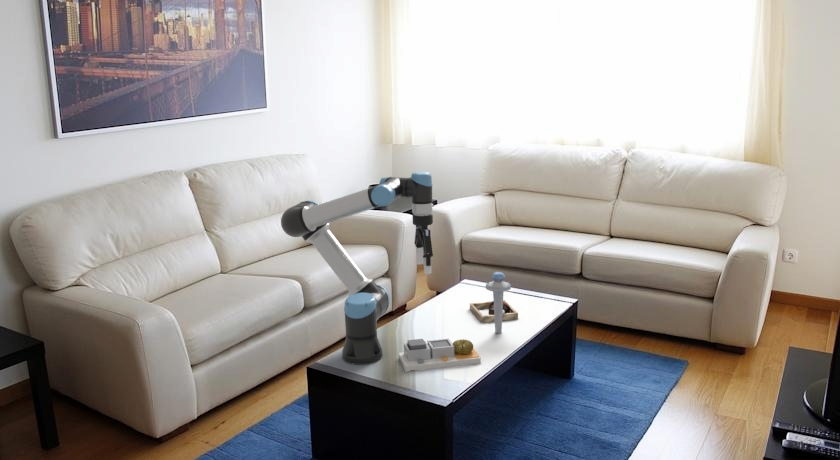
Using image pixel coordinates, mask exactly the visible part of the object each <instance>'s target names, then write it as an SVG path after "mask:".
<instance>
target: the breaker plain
mask: <svg viewBox="0 0 840 460" xmlns="http://www.w3.org/2000/svg"><path fill="white" fill-rule="evenodd" d="M425 341H426V340H424V339H423V338H418V339H417V338H416V339H408V340H407V343H408V348H409V349H410V350H417V349H426V343H427V342H426V343H425Z"/></svg>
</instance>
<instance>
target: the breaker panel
mask: <svg viewBox="0 0 840 460" xmlns="http://www.w3.org/2000/svg"><path fill="white" fill-rule="evenodd" d="M424 341H425V343H426V349H417V350H410V349H409V348H408V342H403V352H398V360H400V361H399V362H400V364H401V365H402V368H403V369H404V368H405V369H404V371H405V370H406V371H405V372H411V371H410V370H415V371H421V370H422V369H424V370H431V369H441V368H448V367H458V366H459V367H460V366H468V365H476V364H481V363H482V358H481V357H480V355H479V353H477V351H476V350H475V348H474V347H473V350H472V351H471V352H470V353H468V354H457V353H455V352H454V346H453V342H451V340H450V338H441V339H432V340H427V341H426V340H424ZM440 341H447V343H448V344H449V345H450V346H445V347H436V348H434V347H433V345H432V344H431V342H440ZM459 347H460V346H459ZM465 347H466V346H465ZM468 347H469V346H468ZM457 349H458V348H457ZM420 369H421V370H420Z"/></svg>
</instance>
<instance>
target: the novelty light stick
mask: <svg viewBox="0 0 840 460" xmlns="http://www.w3.org/2000/svg"><path fill="white" fill-rule="evenodd" d="M505 279H506V275H505V274H504V273H503V272H501V271H495V272H492V276H491V280H492V281H488V282H486V283H485V289H486V290H487V291H490V292H492V296H493V297H492V298H493V299H492V300H493V301H494V307H493V309H494V318H495V321H494V331H495V334H502V330H503V327H502V326H503V320H502V314H503V300H504V292H507V291H510V290H511V288H512V284H511V283H510V282H508V281H504V280H505Z"/></svg>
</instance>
